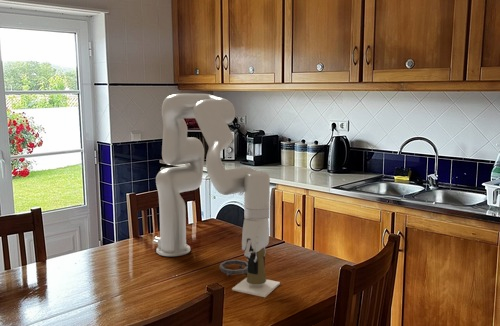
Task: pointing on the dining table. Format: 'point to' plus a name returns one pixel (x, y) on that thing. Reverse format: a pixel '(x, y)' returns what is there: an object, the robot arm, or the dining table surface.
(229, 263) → the ring stand
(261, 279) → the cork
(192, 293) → the dining table surface
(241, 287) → the plate
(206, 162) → the robot arm
